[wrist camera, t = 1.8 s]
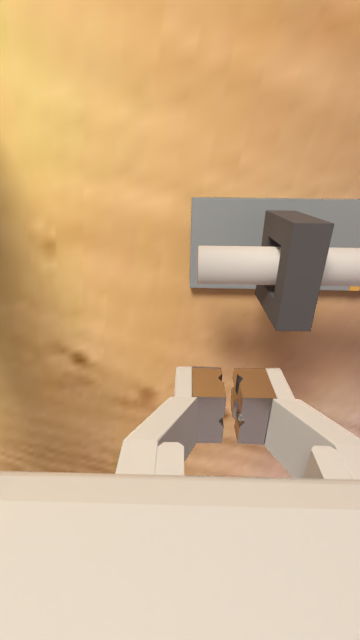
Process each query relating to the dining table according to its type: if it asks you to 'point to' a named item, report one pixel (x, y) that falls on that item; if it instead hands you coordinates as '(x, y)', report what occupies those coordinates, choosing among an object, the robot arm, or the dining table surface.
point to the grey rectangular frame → (294, 267)
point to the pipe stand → (260, 261)
